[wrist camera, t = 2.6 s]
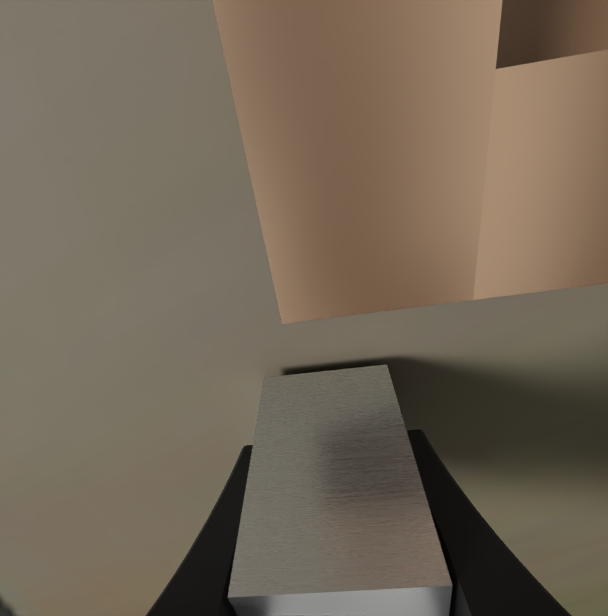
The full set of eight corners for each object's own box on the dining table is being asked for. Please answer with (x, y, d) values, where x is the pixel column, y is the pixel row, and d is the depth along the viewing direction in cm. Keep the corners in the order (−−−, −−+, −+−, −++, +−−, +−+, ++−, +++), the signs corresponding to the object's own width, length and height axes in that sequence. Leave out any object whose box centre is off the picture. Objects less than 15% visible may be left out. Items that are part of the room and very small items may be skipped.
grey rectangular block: (386, 364, 11) (453, 586, 6) (390, 447, 13) (442, 669, 8) (264, 377, 12) (227, 597, 6) (285, 457, 14) (270, 674, 8)
